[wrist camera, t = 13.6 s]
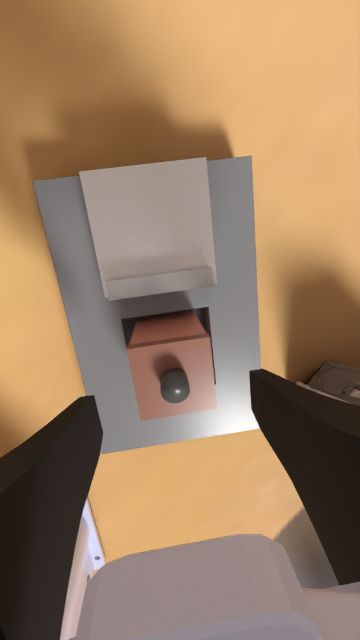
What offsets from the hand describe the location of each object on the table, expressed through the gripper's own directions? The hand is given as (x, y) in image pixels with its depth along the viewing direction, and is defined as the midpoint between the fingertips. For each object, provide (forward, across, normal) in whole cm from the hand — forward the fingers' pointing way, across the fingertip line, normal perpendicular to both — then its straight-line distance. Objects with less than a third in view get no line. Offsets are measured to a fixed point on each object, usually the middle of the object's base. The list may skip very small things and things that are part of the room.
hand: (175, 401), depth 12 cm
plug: (+8, 0, 0) cm, 8 cm away
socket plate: (+8, 0, -2) cm, 8 cm away
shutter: (+5, 0, -8) cm, 9 cm away
